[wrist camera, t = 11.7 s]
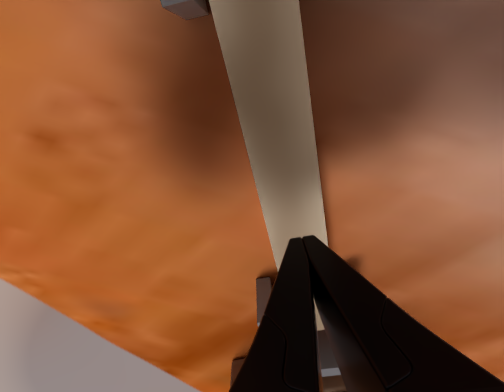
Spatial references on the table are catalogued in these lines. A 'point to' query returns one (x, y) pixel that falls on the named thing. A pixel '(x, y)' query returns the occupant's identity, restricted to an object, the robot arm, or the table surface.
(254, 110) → the slat
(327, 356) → the endcap
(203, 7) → the endcap
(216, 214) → the table surface
